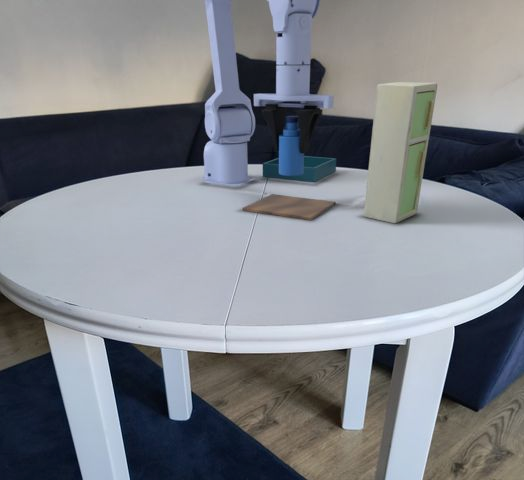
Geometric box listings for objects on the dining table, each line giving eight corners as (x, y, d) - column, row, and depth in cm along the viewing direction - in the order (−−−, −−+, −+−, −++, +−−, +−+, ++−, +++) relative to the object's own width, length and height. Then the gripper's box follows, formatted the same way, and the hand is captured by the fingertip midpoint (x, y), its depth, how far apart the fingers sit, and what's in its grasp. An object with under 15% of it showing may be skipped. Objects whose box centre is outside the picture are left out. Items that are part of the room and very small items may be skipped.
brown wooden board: (242, 210, 91) (242, 208, 91) (272, 196, 100) (272, 194, 100) (310, 220, 85) (310, 217, 85) (335, 204, 94) (335, 201, 94)
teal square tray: (262, 179, 114) (262, 163, 112) (287, 169, 124) (287, 154, 122) (314, 185, 109) (314, 168, 107) (335, 174, 119) (336, 158, 117)
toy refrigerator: (399, 225, 82) (419, 85, 72) (362, 217, 87) (375, 83, 76) (421, 215, 87) (442, 82, 77) (385, 208, 92) (400, 81, 81)
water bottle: (274, 174, 89) (274, 117, 84) (285, 169, 93) (286, 114, 88) (296, 176, 88) (298, 118, 83) (307, 172, 91) (309, 115, 86)
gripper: (342, 64, 81) (337, 151, 88) (266, 64, 87) (267, 145, 94) (326, 65, 76) (321, 157, 83) (246, 65, 82) (248, 151, 89)
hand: (291, 151), depth 88 cm, fingers closed on water bottle, 4 cm apart
